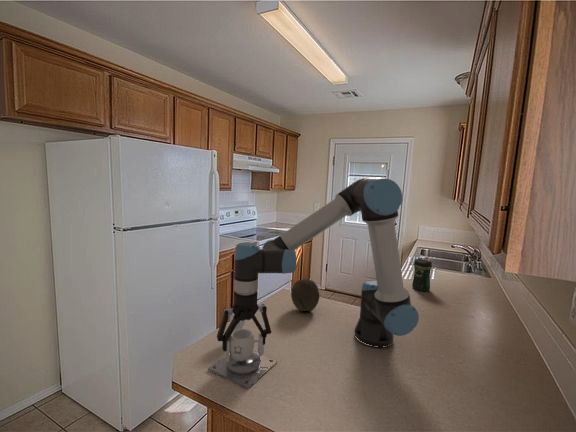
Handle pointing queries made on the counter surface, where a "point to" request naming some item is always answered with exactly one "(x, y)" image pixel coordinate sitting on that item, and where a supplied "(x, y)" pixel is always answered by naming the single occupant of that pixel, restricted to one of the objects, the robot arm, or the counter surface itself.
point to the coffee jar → (422, 275)
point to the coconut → (305, 295)
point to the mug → (243, 344)
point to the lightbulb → (240, 324)
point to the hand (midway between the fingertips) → (243, 356)
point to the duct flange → (239, 370)
